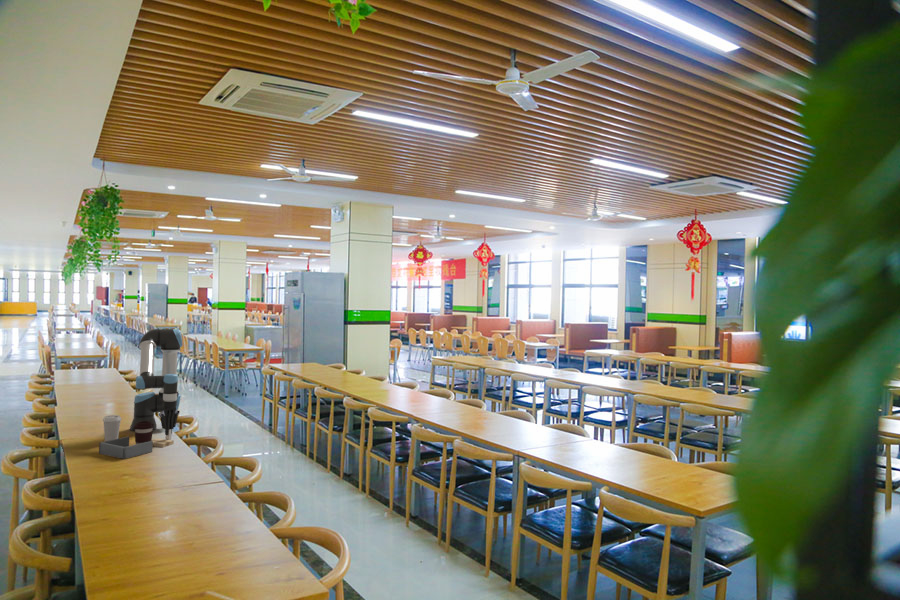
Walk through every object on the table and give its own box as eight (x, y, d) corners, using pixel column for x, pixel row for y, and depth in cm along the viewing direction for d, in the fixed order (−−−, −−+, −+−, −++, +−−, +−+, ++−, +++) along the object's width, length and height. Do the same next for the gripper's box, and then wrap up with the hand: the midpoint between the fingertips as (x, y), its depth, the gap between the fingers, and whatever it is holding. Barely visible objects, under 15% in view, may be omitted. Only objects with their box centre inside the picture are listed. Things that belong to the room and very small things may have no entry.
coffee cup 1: (114, 444, 333) (115, 418, 333) (98, 443, 333) (99, 417, 333) (124, 440, 342) (125, 415, 342) (108, 439, 342) (109, 414, 342)
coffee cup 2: (156, 447, 331) (157, 420, 331) (145, 451, 321) (146, 424, 321) (140, 445, 332) (141, 419, 332) (129, 450, 322) (130, 423, 322)
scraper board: (156, 442, 342) (156, 438, 342) (173, 444, 339) (173, 440, 339) (146, 445, 334) (146, 441, 334) (163, 448, 331) (163, 443, 331)
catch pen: (127, 446, 329) (128, 436, 329) (152, 451, 320) (152, 441, 320) (99, 453, 313) (99, 442, 313) (123, 459, 305) (124, 447, 305)
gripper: (174, 398, 349) (173, 437, 349) (155, 401, 337) (154, 441, 337) (183, 399, 346) (182, 438, 346) (165, 402, 334) (163, 443, 334)
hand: (168, 440), depth 341 cm, fingers closed
